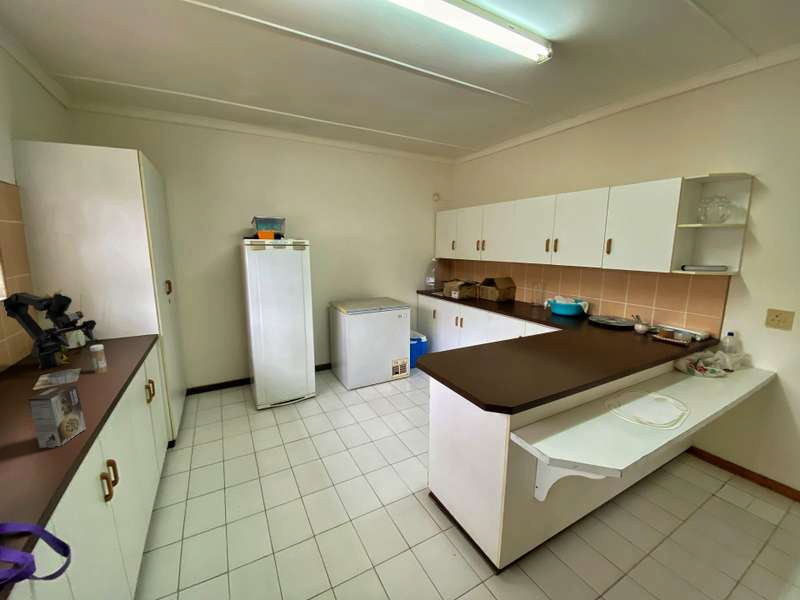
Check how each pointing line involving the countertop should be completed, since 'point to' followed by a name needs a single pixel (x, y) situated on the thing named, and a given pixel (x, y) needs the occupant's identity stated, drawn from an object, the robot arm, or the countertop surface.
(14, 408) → the countertop surface
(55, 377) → the steel collar
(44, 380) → the birch board
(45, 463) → the countertop surface
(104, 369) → the sprinkles bottle
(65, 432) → the coffee box
